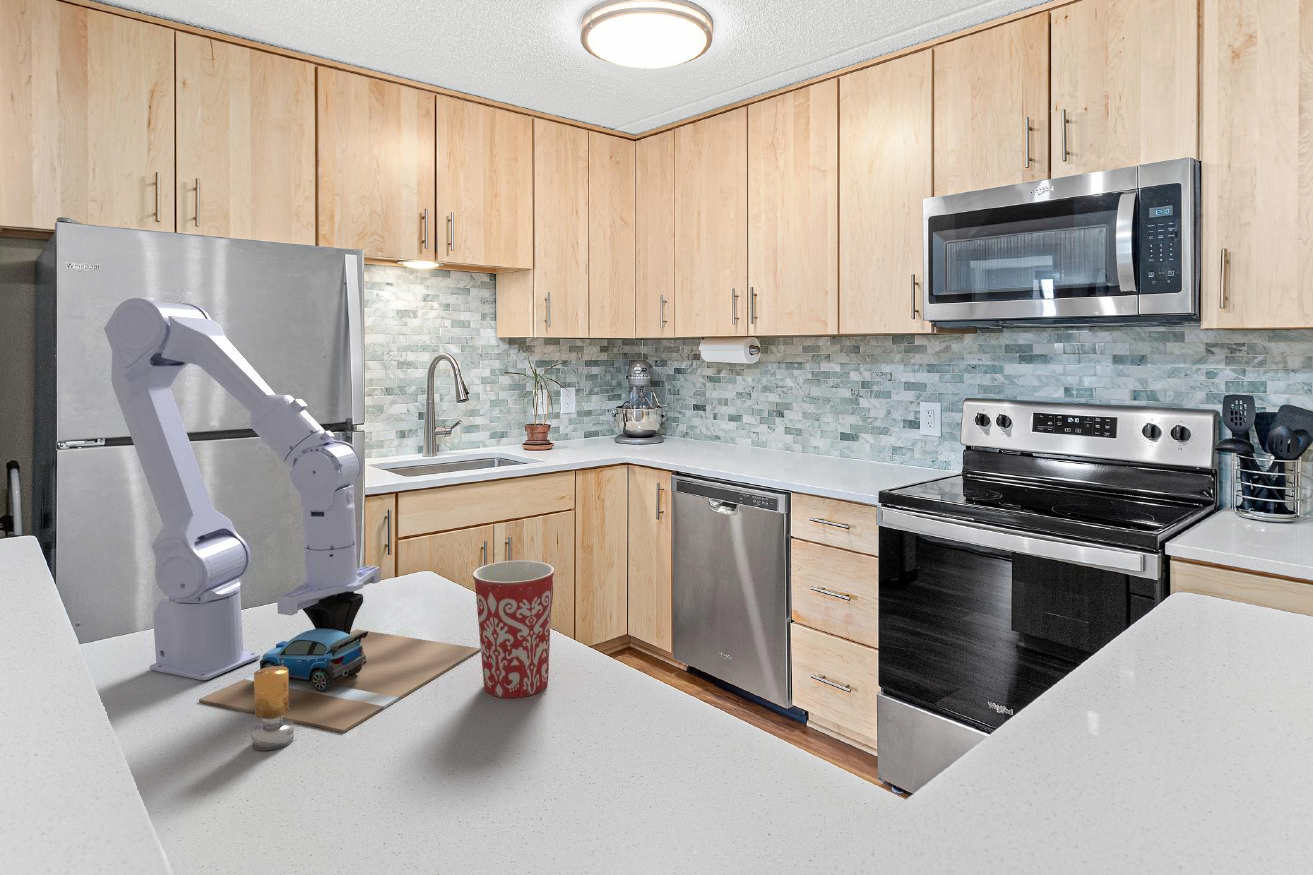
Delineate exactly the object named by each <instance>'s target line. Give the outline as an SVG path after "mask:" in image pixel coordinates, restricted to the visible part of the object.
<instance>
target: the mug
mask: <svg viewBox="0 0 1313 875" xmlns="http://www.w3.org/2000/svg"><path fill="white" fill-rule="evenodd" d="M555 572H556V569H555V568H554V566H553V565H552V564H549V563H546V562H542V561H534V560H506V561H505V560H504V561H497V562H492V563H488V564H485V565H483V566H481V567H478V568H477V569H475V570H474V571H473V573H472V578H473V582H474V587H475V588H474V589H475V597H476V602H475V603H476V611H477V612H476V613H477V622H478V631H479V632H478V633H479V644H480V645H479V646H480V648H481V651H480V654H481V655H480V656H481V667H482V668H481V669H482V679H483V680H482V681H483V686H484V690H485V692H487V693H488V694H489V695H491V696H493V697H498V698H501V699H502V698H504V699H517V698H518V699H520V698H526V697H529V696H533V695H535V694H538V693H540V692H542V691H543V690H545V688H546V687H547V685H548V683H549V674H550V673H549V671H550V670H549V669H550V668H549V667H550V666H549V665H550V648H551V646H550V645H551V644H550V641H551V624H552V623H551V621H552V618H551V617H552V608H553V607H552V606H553V599H554V598H553V597H554V583H553V582H554V581H553V580H554V578H553V577H554V575H555Z"/></svg>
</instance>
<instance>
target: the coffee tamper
mask: <svg viewBox="0 0 1313 875" xmlns="http://www.w3.org/2000/svg"><path fill="white" fill-rule="evenodd" d="M253 675H254V693H255V714H254V716H255V717H256V718H258V719H261V720H262V722H261V723H258V724H256V725H255V726H253V728H252V729H251V734H252V735H251V736H252V740H251V741H252V748H253V749H255V750H256V751H257V750H258V751H265V752H266V751H274V750H278V749H282V748H284V747H286V746H288V745H290V744H291V743H293V741H294V738H295V736H294V729H295V728H294V722H292V721H291V720H287V719H283V715H284V714H286V713H287V712H288V711H289V710H290V708H289V673H288V668H287V667H284V666H273V667H267V668H263V669H260V668H259V669H258V670H256V671H255V672H254V673H253Z"/></svg>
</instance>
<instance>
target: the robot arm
mask: <svg viewBox="0 0 1313 875" xmlns="http://www.w3.org/2000/svg"><path fill="white" fill-rule="evenodd" d="M103 329H104V333H105V335H106V338H107V340H108V343H109V346H110V349H111V351H112V353H111V374H110V376H111V378H110V379H111V380H110V381H111V385H112V388H113V390H114V394H115V398H116V399H117V402H118V404H119V407H120V410H121V412H122V417H123V418H124V421H125V423H126V426H127V429H128V433H129V435H130V438H131V440H132V443H133V446H134V448H135V450H136V454H137V456H138V459H139V462H140V465H141V469H142V471H143V473H144V475H145V478H146V481H147V483H148V486H149V489H150V492H151V495H152V497H153V500H154V504H155V506H156V508H157V511H158V514H159V517H160V520H161V522H162V526H161V528H160V530H159V531H158V534H156V537H155V539H154V541H153V542H152V544H151V547H152V551H153V553H154V557H155V568H154V577H155V581H156V584H157V585H158V588H159V589H160V590H161V592H162V593H163V594H164V595H165V596H163V597H161V599H160V600H159V601H158V604H157V605H156V607H155V610H154V613H153V619H152V620H153V633H154V634H153V635H154V648H155V649H154V650H155V661H156V662H155V663H153V664H150V665H149V670H151V671H153V672H154V671H155V672H160V673H165V674H170V675H175V676H180V677H185V678H190V679H196V680H199V681H200V680H201V681H207V680H210V679H212V678H216V677H217V676H219V675H222V674H224V673H226V672H229V671H231V670H234V669H236V668H238V667H241V666H243V665H245V664H247V663H251V662H252V661H256V660H258V659H259V658H261V653H259V652H253V651H247V650H244V638H243V637H244V636H243V635H244V634H243V621H242V620H243V619H242V618H243V617H242V601H241V598H242V597H241V586H242V585H243V584H242V577H243V576H244V575H245V574H246V573H247V571H248V570H249V567H250V566H251V562H252V554H251V550H250V548H249V545H248V544H247V542H246V541H245V540H244V539H243V537H241V536H240V535H239V533H238V532H237V531H236V529H235V526H234V524H233V522H232V520H231V519H230V518H229V517H227V516H226V515H224V514H223V513H221V512H219V511H218V510H216V509H215V507H214V505H213V503H212V499H211V497H210V494H209V491H208V488H207V486H206V484H205V481H204V480H205V479H204V478H203V475H202V472H201V469H200V467H199V463H198V461H197V458H196V454H195V452H194V449H193V447H192V445H191V444H192V443H191V441H190V438H189V436H188V433H187V431H186V426H185V425H184V422H183V419H182V416H181V414H180V411H179V408H178V405H177V402H176V400H175V398H174V395H173V391H172V388H171V387H172V385H173V383H174V382H175V380H176V378H177V377H178V375H179V374H180V372H182V370H184V369H185V368H186V367H187V366H188V365H189V364H190V365H195V366H198V367H200V368H201V369H202V370H204V372H206V374H208V375H209V376H210V377H211V378H212V379H213V380H214V381H215V382H217V384H219V385H220V386H221V387H222V388H223V389H224V390H226V392H228V394H230V395H231V396H232V397H233V399H235V400H237V402H239V403H240V404H241V405H242V406H243V407H244V408H246V410H247V411H248V412H249V413H250V421H249V424H250V429H252V430H253V432H254V433H255V434H256V435H258V437H259V438H260V439H261V440H263V442H264V443H265V444H266V445H267V446H268V447H269V448H270V449H272V451H273V452H274V453H275V454H276V455H277V456H278V457H279V458H280V459H281V460H282V461H283V462H284V464H286V465H287V466H288V467H289V468H291V469H292V470H290V471H289V478H290V481H291V483H292V485H293V486H294V488H295V489H296V490H297V491H298V493H299V496H300V498H301V506H302V507H301V508H302V526H303V527H302V528H303V550H304V569H305V570H304V572H305V573H304V574H305V582H303V583H301V584H299V585H298V586H296V587H295V588H293V589H291V590H289V591H288V592H286V593H284V594H282V595H279V596H277V597H276V601H277V602H276V604H277V614H279V615H285V616H293V615H297V614H298V612H299V611H301V610H302V611H303V613H305V614H306V616H307V617H308V619H309V620H310V622H311V623H312V625H313V627H314V629H320V628H323V629H334V630H338V631H342V632H345V633H347V634H349V635H350V632H352V631H351V630H352V628H353V625H354V621H355V619H356V617H357V614H358V612H359V610H360V608H361V606H362V604H363V603H364V595H363V594H362V593H359V592H358V593H357V591H359V590H362V589H363V588H364V586H367V585H370V584H373V585H374V584H377V583H380V582H381V567H380V566H374V565H373V566H372V565H367V566H366V565H365V566H363V567H358V562H357V561H358V559H357V558H358V557H357V533H356V532H357V530H356V529H357V528H356V505H355V485H354V484H355V483H356V481H357V480H358V479H359V477H360V476H361V472H362V461H361V458H360V456H359V454H358V452H357V451H356V450H355V448H354V446H353V444H351V443H349V442H347V441H344V440H336V439H335V435H334V433H332V431H331V430H325V429H324V428H323V427H322V426H321V425H320V424H319V423H318V421H316V419H315V418H314V417H313V416H312V415H311V414H309V412H308V411H307V410H306V409H307V408H308V404H307V403H306V402H305V401H304V400H303V399H300V398H297V399H295V398H294V397H293V396H292V395H290V394H289V395H288V394H277V393H275V392H274V391H273V389H271V387H270V386H269V385H268V384H267V383H266V382H265V381H264V379H263V378H262V377H261V376H260V375H259V374H258V372H257V371H256V370H255V369H254V368H253V367H252V366H251V364H250V363H249V362H248V361H247V359H245V357H243V356H242V354H241V353H240V352H239V351H238V350H237V349H236V347H235V346H234V345H233V344H232V343H231V342H230V340H229V339H228V338H227V337H226V335H225V333H224V330H223V327H222V326H221V324H220V323H218V322H217V321H215V319H211V317H210V315H209V314H208V312H206V311H205V309H203V308H202V307H201V306H199V305H196V304H193V303H188V302H187V303H186V302H183V303H177V302H176V303H173V302H164V301H157V300H156V301H154V300H149V299H147V298H142V297H132V298H129V299H125V300H124V301H122V302H121V303H120V304H118V306H117V307H116V308H115V310H114V311H113V313H112V315H110V318H109V320H108V321H107V322H106V324H105V326H104V328H103ZM196 540H197V541H196Z"/></svg>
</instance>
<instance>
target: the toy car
mask: <svg viewBox="0 0 1313 875" xmlns="http://www.w3.org/2000/svg"><path fill="white" fill-rule="evenodd" d="M366 631H367V632H361V633H359V634H357V635H355V636H354V637H353V636H351V635H349V634H347V633H345V632H342V631H338V630H334V629H323V628H320V629H315V628H313V629H309V630H306V631H303V632H302V633H299V634H298V635H296V636H294V637H292V638H290V640H288V641H285V640H282V641H280V642H278V643H276V644H275V647H274V648H272V649H270V650H267V651H266V652H264V654H263V655H262V656H261V657H262V658H261V660H260V661H259V670H260V669H263V668H267V667H273V666H284V667H287V668H288V673H289V679H293V680H299V681H305V682H311V681H312V684H313V686H314V688H315V689H316V690H318V691H320V692H325V691H327V690H329V689H330V688H331V687H332V686H333V683H334V680H336V679H338V678H340V677H342V676H346V675H350V676H352V675H355V674H357V673H359V672H360V670H361V669H362V666H364V665H365V663H366V655H365V654H364V651H363V646H362V644H361V638H365V637H366V636H367V634H368V631H369V630H366ZM358 639H359V641H358Z"/></svg>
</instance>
